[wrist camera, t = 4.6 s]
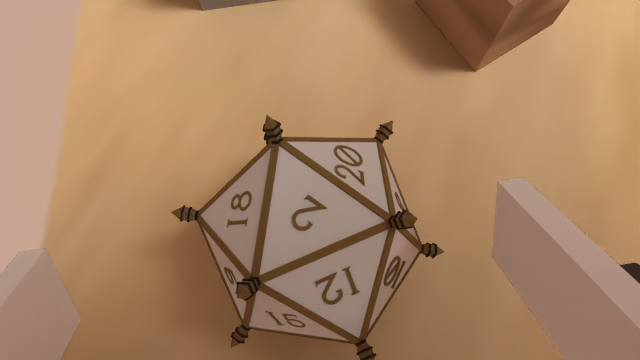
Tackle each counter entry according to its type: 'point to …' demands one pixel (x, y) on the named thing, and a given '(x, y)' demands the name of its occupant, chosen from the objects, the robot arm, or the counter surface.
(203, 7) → the gray block
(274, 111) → the counter surface
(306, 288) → the game die
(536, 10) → the walnut block
